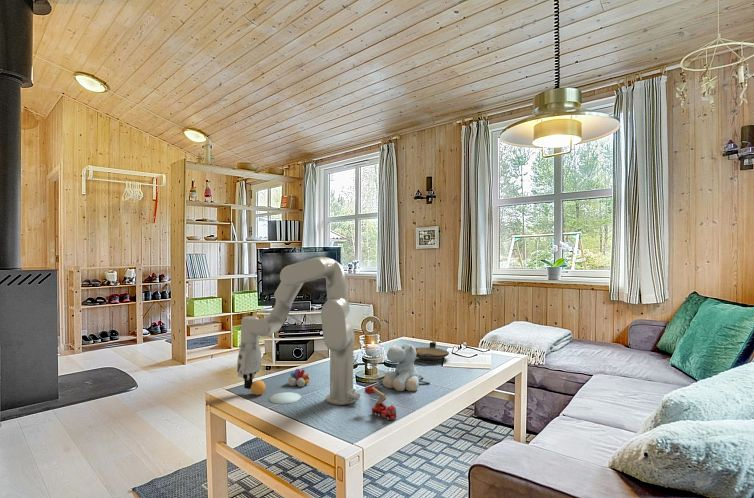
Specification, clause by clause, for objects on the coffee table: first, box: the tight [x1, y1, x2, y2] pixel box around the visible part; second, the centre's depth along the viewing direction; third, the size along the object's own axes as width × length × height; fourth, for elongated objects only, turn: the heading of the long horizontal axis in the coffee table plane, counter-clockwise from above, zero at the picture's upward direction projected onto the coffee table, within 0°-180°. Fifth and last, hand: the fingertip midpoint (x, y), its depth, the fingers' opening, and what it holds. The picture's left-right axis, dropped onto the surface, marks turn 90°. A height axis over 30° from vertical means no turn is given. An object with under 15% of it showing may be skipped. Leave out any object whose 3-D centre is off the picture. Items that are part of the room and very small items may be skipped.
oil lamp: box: [415, 339, 450, 361], centre depth 238 cm, size 22×30×8 cm
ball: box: [250, 379, 266, 396], centre depth 177 cm, size 6×6×6 cm
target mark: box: [268, 391, 302, 405], centre depth 173 cm, size 13×13×1 cm
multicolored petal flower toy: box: [287, 368, 311, 388], centre depth 191 cm, size 8×10×7 cm
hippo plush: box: [382, 343, 431, 392], centre depth 190 cm, size 18×23×18 cm
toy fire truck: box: [364, 385, 397, 421], centre depth 156 cm, size 3×14×10 cm, turn 48°
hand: (248, 388), depth 179 cm, fingers closed
